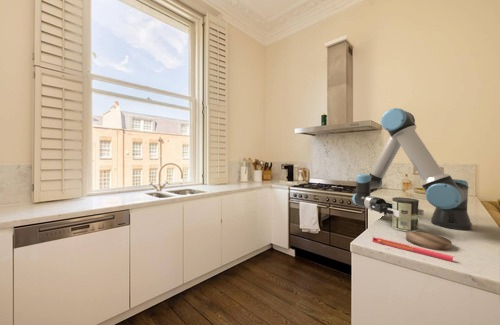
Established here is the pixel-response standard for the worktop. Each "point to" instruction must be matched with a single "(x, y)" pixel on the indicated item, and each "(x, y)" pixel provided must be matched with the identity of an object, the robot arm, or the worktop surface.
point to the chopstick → (414, 249)
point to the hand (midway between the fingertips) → (411, 213)
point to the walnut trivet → (429, 240)
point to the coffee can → (405, 214)
